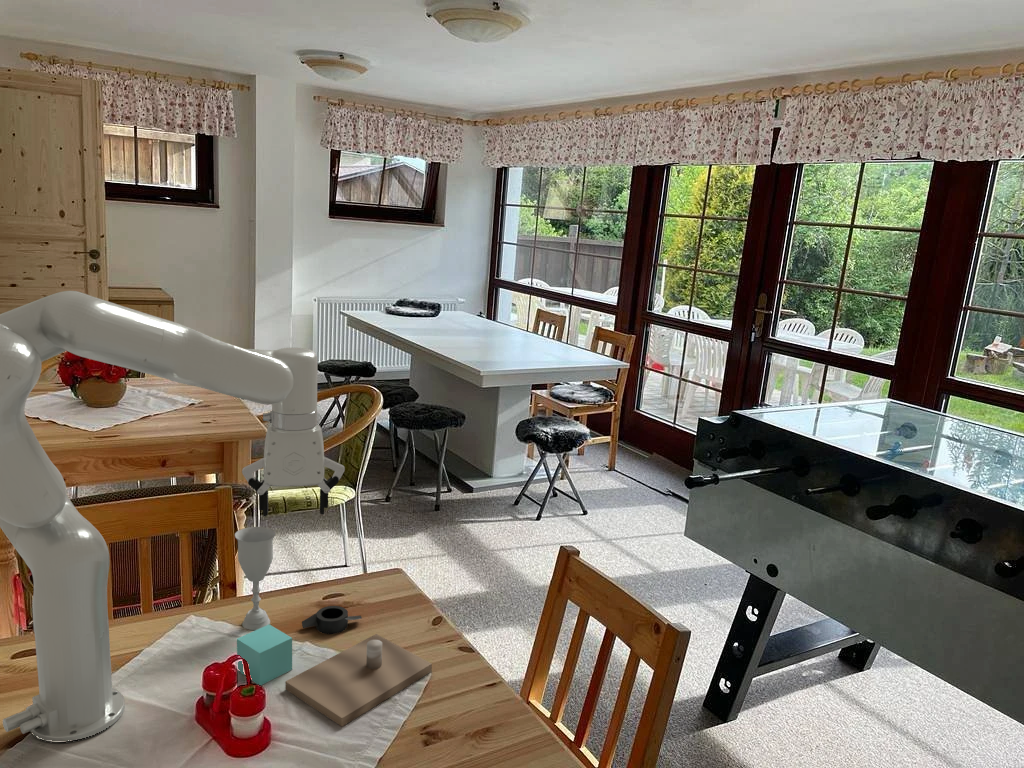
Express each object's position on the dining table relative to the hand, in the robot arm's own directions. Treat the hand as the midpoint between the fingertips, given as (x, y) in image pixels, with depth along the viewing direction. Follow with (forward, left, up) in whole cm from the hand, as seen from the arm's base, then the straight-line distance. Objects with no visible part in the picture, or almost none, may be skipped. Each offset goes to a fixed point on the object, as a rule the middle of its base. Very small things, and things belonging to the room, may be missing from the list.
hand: (294, 512), depth 138 cm
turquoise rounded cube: (-10, -5, -24) cm, 27 cm away
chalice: (-2, +9, -25) cm, 26 cm away
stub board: (-1, -19, -24) cm, 31 cm away
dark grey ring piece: (+7, -2, -25) cm, 26 cm away
